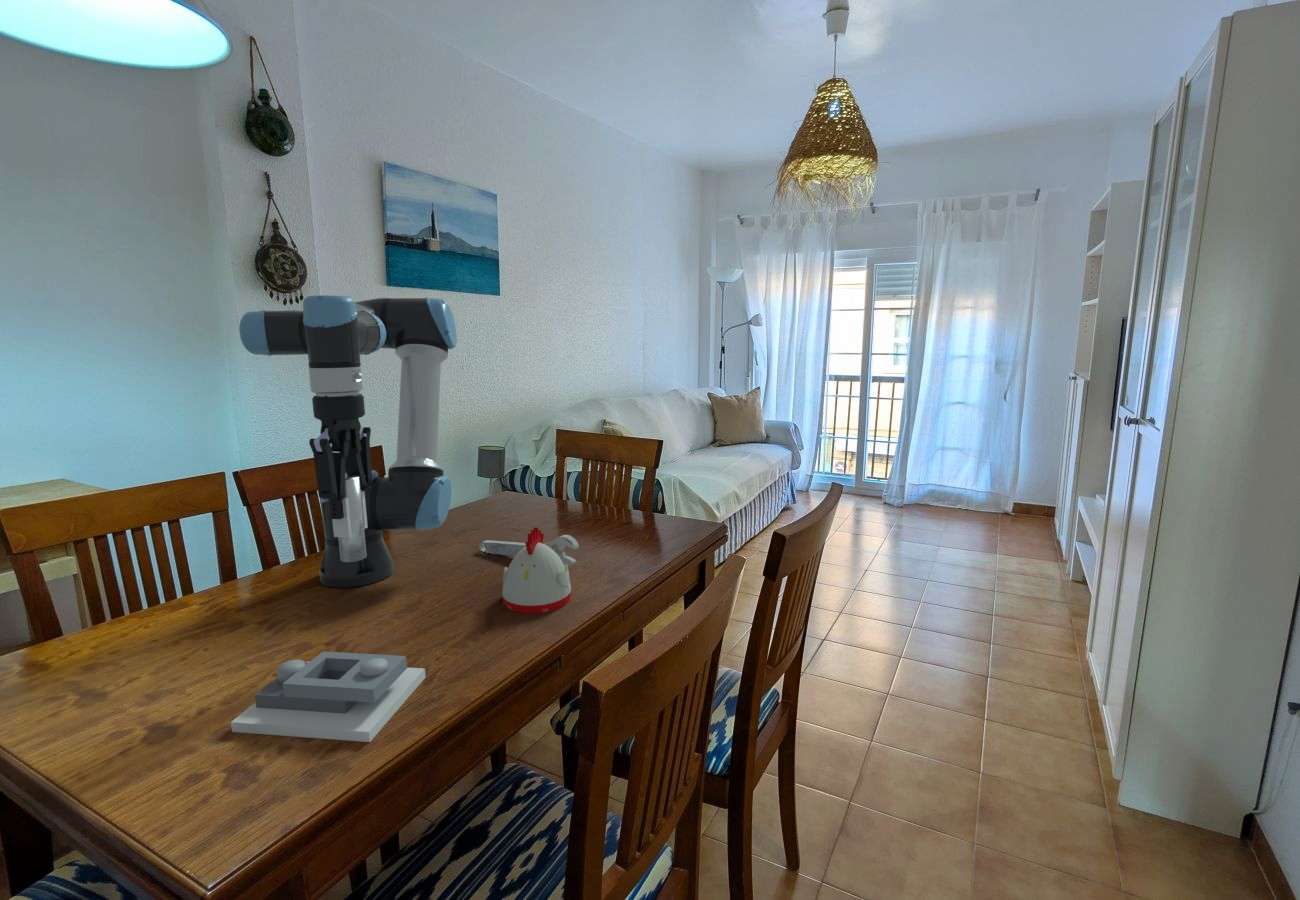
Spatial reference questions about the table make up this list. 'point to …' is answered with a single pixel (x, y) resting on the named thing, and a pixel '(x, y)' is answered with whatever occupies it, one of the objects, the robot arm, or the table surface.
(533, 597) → the kitchen timer
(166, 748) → the table surface
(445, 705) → the table surface
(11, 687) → the table surface
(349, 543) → the pin
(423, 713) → the table surface
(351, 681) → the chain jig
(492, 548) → the wrench
